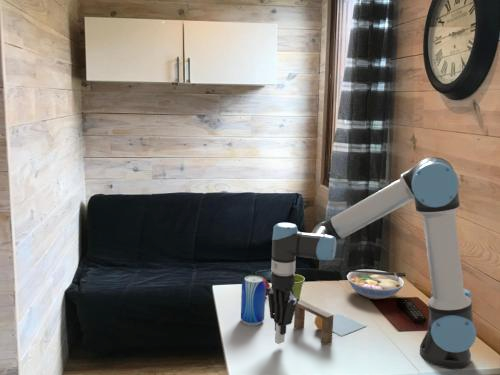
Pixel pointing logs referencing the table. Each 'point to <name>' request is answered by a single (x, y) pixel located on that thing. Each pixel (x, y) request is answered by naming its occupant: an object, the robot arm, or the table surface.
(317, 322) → the ball
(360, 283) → the ramen bowl
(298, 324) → the bridge
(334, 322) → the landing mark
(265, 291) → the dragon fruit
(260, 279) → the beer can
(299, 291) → the plant pot
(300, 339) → the table surface
